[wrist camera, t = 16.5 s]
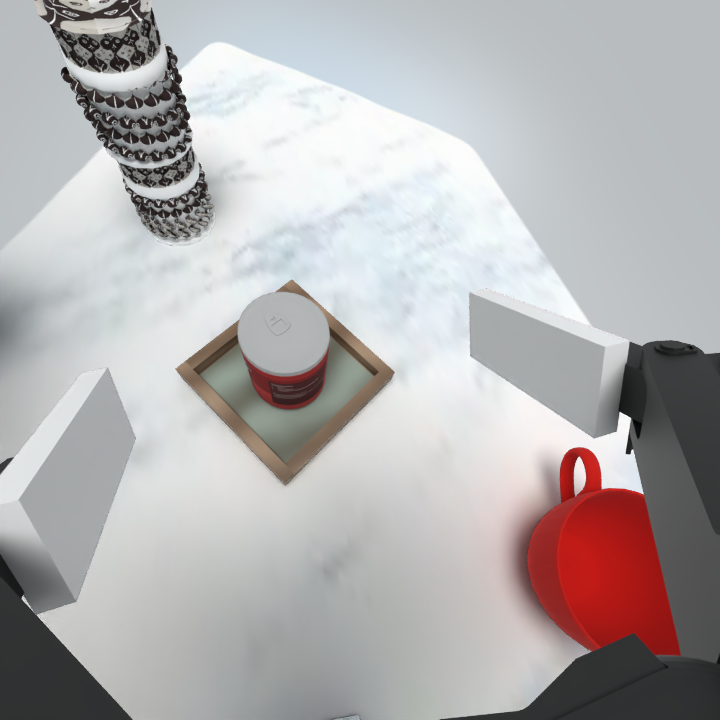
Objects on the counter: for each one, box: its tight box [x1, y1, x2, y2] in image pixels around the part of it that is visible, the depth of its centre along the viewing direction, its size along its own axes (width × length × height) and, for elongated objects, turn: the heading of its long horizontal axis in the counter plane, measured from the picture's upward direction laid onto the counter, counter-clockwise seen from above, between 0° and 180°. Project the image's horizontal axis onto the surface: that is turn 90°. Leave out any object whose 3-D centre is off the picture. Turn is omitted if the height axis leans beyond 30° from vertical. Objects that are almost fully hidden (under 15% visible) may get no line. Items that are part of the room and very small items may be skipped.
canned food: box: [238, 292, 330, 409], centre depth 40 cm, size 8×8×11 cm
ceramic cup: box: [527, 447, 681, 656], centre depth 38 cm, size 13×17×10 cm
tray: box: [176, 280, 394, 485], centre depth 45 cm, size 16×16×2 cm
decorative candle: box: [34, 0, 215, 246], centre depth 42 cm, size 9×9×25 cm
